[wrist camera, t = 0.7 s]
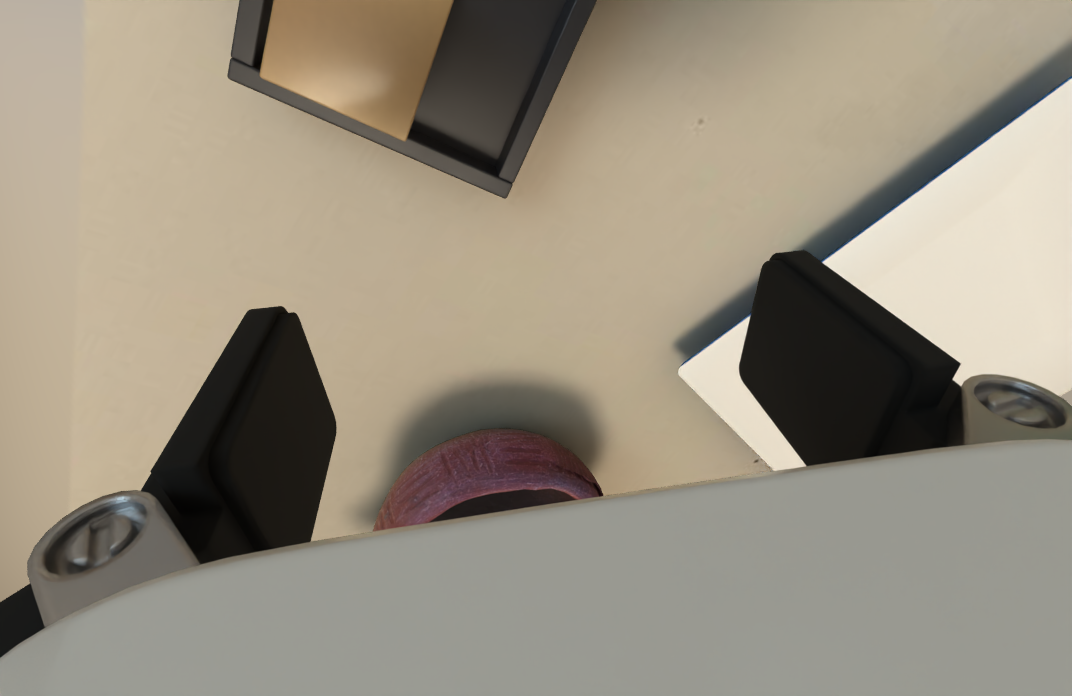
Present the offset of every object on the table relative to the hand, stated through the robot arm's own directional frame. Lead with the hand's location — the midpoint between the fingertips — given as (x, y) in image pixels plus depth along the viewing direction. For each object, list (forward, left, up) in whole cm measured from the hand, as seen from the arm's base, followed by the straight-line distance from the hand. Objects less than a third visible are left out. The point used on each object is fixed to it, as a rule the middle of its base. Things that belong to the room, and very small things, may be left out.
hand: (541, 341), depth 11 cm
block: (-4, -5, -14) cm, 15 cm away
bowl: (+21, +2, -14) cm, 25 cm away
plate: (+7, +27, -14) cm, 31 cm away
